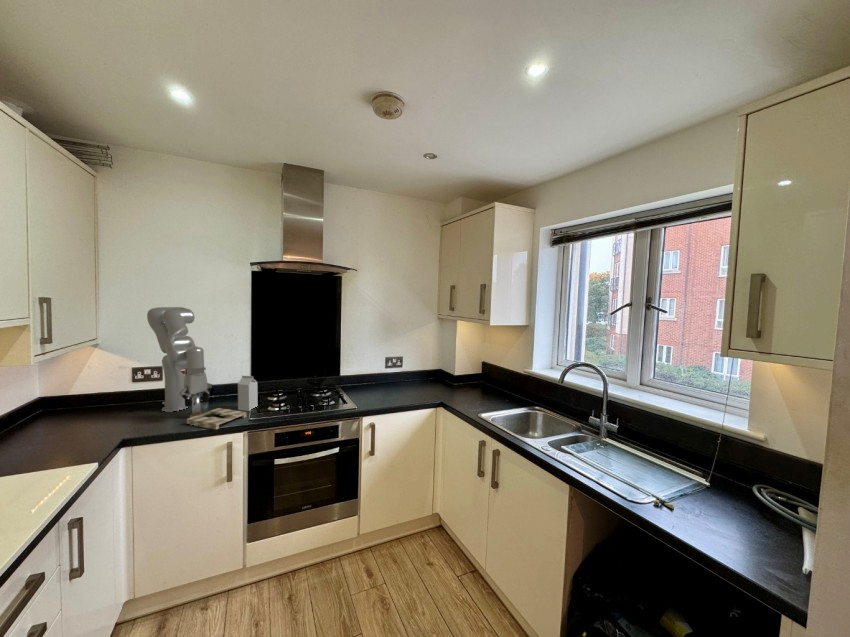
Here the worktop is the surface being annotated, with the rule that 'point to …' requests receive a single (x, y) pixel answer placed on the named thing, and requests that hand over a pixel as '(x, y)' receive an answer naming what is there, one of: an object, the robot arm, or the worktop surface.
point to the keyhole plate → (215, 418)
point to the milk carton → (247, 393)
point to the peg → (196, 406)
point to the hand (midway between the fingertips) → (197, 403)
